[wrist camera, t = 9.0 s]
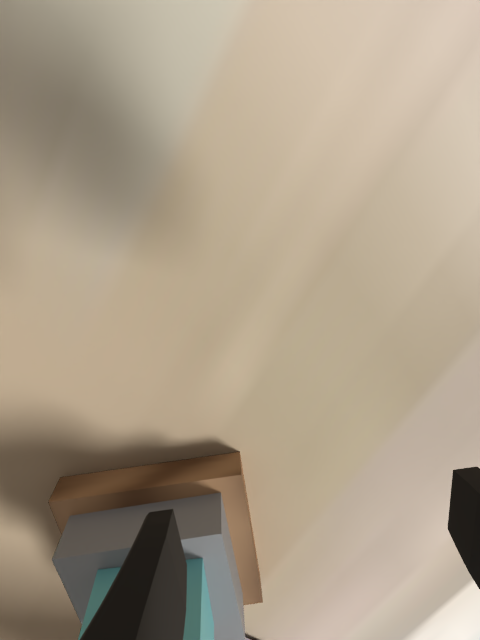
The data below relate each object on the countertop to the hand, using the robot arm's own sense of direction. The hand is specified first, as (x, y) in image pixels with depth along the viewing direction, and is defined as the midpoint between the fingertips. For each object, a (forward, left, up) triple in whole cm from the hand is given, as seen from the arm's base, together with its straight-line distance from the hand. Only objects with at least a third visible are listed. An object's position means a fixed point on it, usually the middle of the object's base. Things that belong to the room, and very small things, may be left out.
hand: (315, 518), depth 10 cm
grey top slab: (-3, +13, -9) cm, 16 cm away
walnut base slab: (-3, +13, -11) cm, 17 cm away
